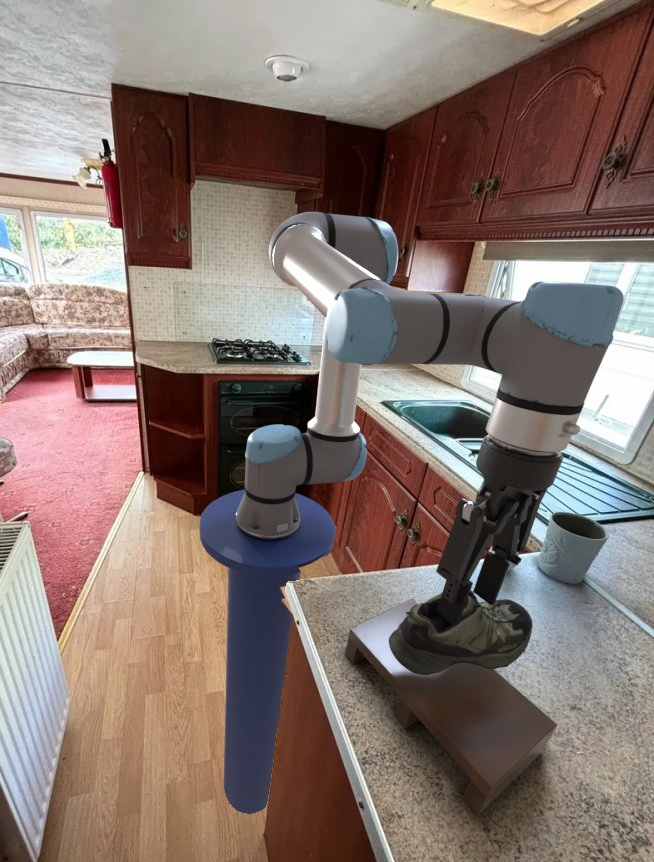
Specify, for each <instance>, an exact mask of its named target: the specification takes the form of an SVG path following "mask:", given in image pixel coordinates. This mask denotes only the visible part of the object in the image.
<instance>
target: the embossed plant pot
mask: <svg viewBox="0 0 654 862" xmlns="http://www.w3.org/2000/svg"><path fill="white" fill-rule="evenodd" d="M609 538H610V532H609V531H608V529H606V527H604V526H603V525H602V524H601V523H600V522H598V521H595V520H594V519H592V518H589V517H587V516H584V515H582V514H578V513H574V512H569V511H556V512H553V513H552V514H550V516H549V521H548V525H547V529H546V532H545V537H544V539H543V542H542V547H541V550H540V554H539V557H538V558H537V565H538V567H539V569H540V570H541V571H542V572H543V573H545V575H547V576H549V577H550V578H552V579H555V580H557V581H559V582H562V583H566V584H575V585H576V584H579V583H581V582H582V581H583V580H584V578H585V577H586V574H587V573H588V571H589V570H590V568H591V566H592V565H593V562H594V561H595V560H596V558H597V556H598V555H599V553H600V552H601V550H602V549H603V547H604V546H605V544H606V542H607V541H608V539H609Z"/></svg>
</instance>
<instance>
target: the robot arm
mask: <svg viewBox="0 0 654 862" xmlns="http://www.w3.org/2000/svg"><path fill="white" fill-rule="evenodd" d="M268 258H269V262H270V265H271V268H272V270H273V272H274V273H275V274H276V276H277V277H278V278H279V279H280V280H281V282H283V283H285V284H287V285H288V286H290V287H294V288H297V289H298V290H299V291H300V293H302V294H303V296H304V297H305V298H307V300H308V301H309V302H310V303H311V304H312V305H313V306H314V307H315V308H316V309H317V310H318V311H319V313H320V314H321V315H322V316H323V317H324V326H323V337H322V344H321V345H322V346H321V353H320V354H321V356H320V365H319V374H318V375H319V376H318V384H317V385H318V386H317V395H316V403H315V404H316V406H315V414H314V415H315V416H314V417H313V418H312V419H310V420H309V421H308V422H307V427H306V428H307V429H306V432H302V433H301V431H300V429H299V428H298V427H295V426H293V425H289V424H287V425H284V424H281V423H279V424H269V425H264V426H262V427H259V428H257V429H255V430H254V431H253V432H251V433H250V434H249V436H248V437H247V441H246V449H245V452H244V457H245V469H244V470H245V473H244V490H245V493H244V495H243V498H242V500H241V503H240V505H239V507H238V510H237V513H236V525H237V528H238V529H239V530H240V531H241V532H242V533H243V534H244V535H246V536H248V537H250V538H253V539H256V540H260V541H280V540H284V539H287V538H289V537H291V536H293V535H294V534H295V533H296V532H297V531H298V530H299V527H300V513H299V509H298V505H297V502H296V498H295V493H296V489H297V486H303V485H317V484H331V483H334V484H340V483H343V482H349V481H352V480H355V479H356V478H358V477H359V476H360V475H361V473H362V472H363V470H364V468H365V466H366V461H367V456H368V448H366V447H367V440H366V439H365V436H364V435H363V434H362V433H361V432H360V431H361V430H360V429H361V428H360V426H359V425H358V424H357V422H356V421H355V416H356V409H357V402H358V395H359V388H360V382H361V381H360V380H361V374H362V366H373V365H448V366H449V365H451V366H452V365H453V366H455V365H457V366H458V365H459V366H462V365H463V366H474V367H477V368H481V369H484V370H488V371H491V372H493V373H495V374H499V375H501V378H500V381H499V385H498V386H497V387H498V388H497V391H496V394H495V395H496V396H495V399H494V402H493V404H492V408H491V411H490V414H489V417H488V421H487V423H486V426H485V431H486V432H487V435H485V436H484V437H483V438H482V441H481V444H480V447H479V451H478V454H477V458H476V461H475V465H476V468H477V470H478V472H479V473H480V474H481V475H482V478H483V481H482V483H481V485H480V487H479V488H478V490H477V492H476V494H475V498H473V499H472V500H470V501H469V500H468V499H465V498H460V499H459V500H458V501H457V504H456V509H455V518H454V520H453V524H452V525H451V528H450V532H449V534H448V537H447V539H446V543H445V546H444V548H443V551H442V553H441V556H440V559H439V562H438V565H437V567H436V570H435V571H436V573H437V574H438V575H439V576H441V578H443V579H445V583H444V586H443V589H442V592H441V593H442V595H441V599H440V602H439V605H438V608H437V612H438V613H439V614H441V615H442V616H443V617H444V618H445V619H447V620H448V621H449V622H450V623H451V624H452V625H454V626H457V625H458V624H459V622H460V619H461V616H462V614H463V611H464V608H465V605H466V602H467V599H468V596H469V593H470V590H472V588H473V590H472V591H473V593H474V595H475V596H478V597H479V598H481V599H482V600H483V602H487V603H488V604H490V605H493V604H495V601H496V600H498V599H497V598H498V596H499V594H500V591H501V589H502V586H503V583H504V580H505V577H506V575H507V573H508V572H507V570H508V568H509V565H510V564H509V563H508V562H509V561H510V562H512V563H513V564H515V565H517V566H519V564H521V563H522V562H521V561H522V559H523V558H521V557H520V556H519V557H518V556H517V555H516V552H519V554H522V553H523V552H525V550H526V547H527V544H528V541H529V538H530V535H531V533H532V529H533V526H534V523H535V520H536V517H537V514H538V512H539V509H540V505H541V503H542V501H543V499H544V497H545V495H546V493H547V491H548V489H549V488H550V487H552V486H553V485H554V483H555V480H556V478H557V475H558V473H559V470H560V467H561V466H562V464H563V463H562V462H563V460H564V455H563V453H562V452H563V451H565V450H567V448H568V445H569V443H570V441H571V439H572V436H576V435H578V434H579V433H580V431H581V426H580V425H579V424H577V423H578V420H579V418H580V416H581V415H582V411H583V408H584V405H585V401H586V399H587V397H588V394H589V391H590V389H591V387H592V385H593V382H594V380H595V378H596V376H597V373H598V371H599V369H600V367H601V364H602V362H603V360H604V358H605V355H606V353H607V351H608V348H609V347H610V346H611V344H612V343H613V340H614V331H615V328H616V326H617V322H618V320H619V316H620V314H621V310H622V308H623V304H624V299H625V297H624V292H623V291H622V290H621V289H620V288H618V287H616V286H614V285H609V284H596V283H582V282H569V281H568V282H567V281H545V280H544V281H543V280H538V281H535V282H533V283H532V284H531V285H530V286H529V288H528V289H527V292H526V295H525V297H524V300H521V301H519V300H512V299H505V298H499V297H498V298H497V297H492V296H487V295H482V294H471V293H467V294H441V293H431V292H430V293H429V292H427V293H425V292H414V291H403V290H400V289H396V288H395V287H393V286H391V285H390V283H391V282H392V281H393V277H394V276H395V274H396V272H397V267H398V261H399V244H398V240H397V236H396V234H395V232H394V229H393V228H392V226H391V225H390V224H389V223H388V222H386V221H384V220H379V219H376V218H372V217H369V216H355V215H348V214H347V215H345V214H336V213H335V214H334V213H327V212H320V211H305V212H300V213H298V214H295V215H292V216H290V217H288V218H287V219H285V220H284V221H282V222H281V223H280V224H279V225H278V226H277V228H276V229H275V230H274V232H273V233H272V236H271V238H270V241H269V245H268ZM518 539H519V541H518ZM491 542H492V545H491V547H492V551H494V552H495V554H493V553H492V552H489V551H488V552H486V551H487V549H488V548H489V545H490V543H491ZM485 552H486V553H485ZM484 554H485V555H484ZM483 556H484V558H483ZM482 558H483V562H482V565H481V568H480V570H479V574H478V576H477V578H476V581H475V585H474V587H473V584H474V582H473V581H471V578H472V576H473V575H474V573H475V571H476V569H477V567H478V565H479V563H480V562H481V560H482Z"/></svg>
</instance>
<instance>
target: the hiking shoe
mask: <svg viewBox="0 0 654 862" xmlns="http://www.w3.org/2000/svg"><path fill="white" fill-rule="evenodd" d="M441 595H442V592H440V593H439V594H436V595H434V596H433V597H431V598H429V599H428V600H427V601H425V602H418V604H416V605H415V606H413V607H412V608H411V610H410V611H408V612H406V614H407V616H406V618H405V619H404V621H403V622H402V623H400V625H399V627H398V629H397V630H395V631H394V632H393V633H392V634H391V636H390V637H389V647H390V649H391V652H392V654H393V655H394V657H395V658H396V660H397V661H398V662H399V663H400V664H401V665H402V666H403V667H405V668H406V669H408V670H409V671H411V672H413V673H415V674H419V675H431V674H435V673H439V672H442V671H443V670H445V669H447V668H448V667H450V666H452V665H454V664H458V663H471V664H475V665H478V666H481V667H484V668H489V669H494V670H497V669H500V668H507V667H509V666H510V665H511V664H512V663H514V662H515V661H517V660H518V659H519V658H520V657H521V655H523V654H524V653H525V652H526V650H527V648H528V645H529V643H530V639H531V635H532V632H533V626H534V625H533V619H532V616H531V615H530V613H529V611H528V610H527V609H526V608H525V607H524V606H522V605H521V604H520V603H518V602H516V601H514V600H511V599H508V598H506V599H496V601H495V604H493V605H490V604H488V603H487V602H486V601H481V602H479V600H478V597H477V595H476V594H475V593H474V592H473V590H472V589H471V590H470V593H469V596H468V599H467V602H466V605H465V608H464V611H463V614H462V616H461V619H460V622H459V624H458V625H457V626H454V625H452V624H451V623H450V622H449V621H448V620H447V619H445V618H444V617H443V616H442V615H441V614H439V613H438V612H437V608H438V605H439V602H440V599H441Z"/></svg>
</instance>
